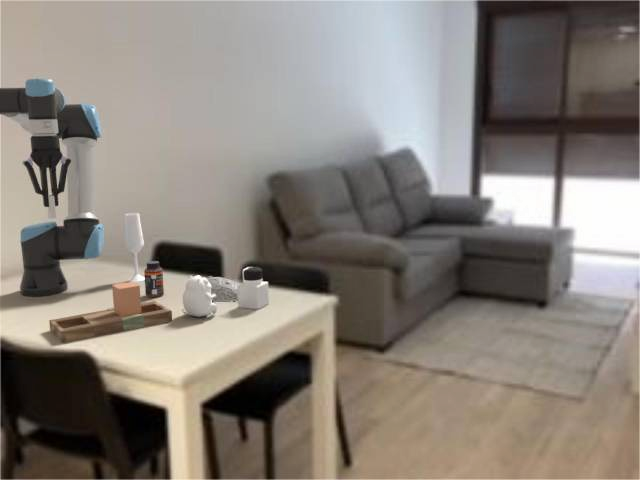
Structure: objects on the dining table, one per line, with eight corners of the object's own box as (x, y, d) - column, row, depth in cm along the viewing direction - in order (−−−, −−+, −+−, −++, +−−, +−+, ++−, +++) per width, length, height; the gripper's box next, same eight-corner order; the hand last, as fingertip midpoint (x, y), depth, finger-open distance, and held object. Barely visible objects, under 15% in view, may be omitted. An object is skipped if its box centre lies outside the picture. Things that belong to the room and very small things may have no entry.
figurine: (187, 322, 199) (185, 282, 197) (178, 313, 208) (175, 275, 205) (220, 317, 204) (218, 277, 201) (209, 309, 212) (207, 271, 210)
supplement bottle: (159, 298, 225) (157, 264, 223) (142, 297, 226) (140, 263, 224) (167, 293, 231) (164, 260, 229) (150, 292, 232) (148, 259, 230)
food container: (219, 305, 215) (219, 284, 214) (180, 294, 234) (180, 274, 233) (260, 301, 225) (261, 280, 224) (220, 290, 244) (220, 271, 243)
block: (114, 311, 201) (112, 284, 199) (134, 307, 204) (132, 281, 202) (121, 316, 196) (119, 289, 194) (141, 312, 199) (139, 285, 198)
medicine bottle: (269, 303, 216) (268, 266, 214) (257, 309, 210) (256, 271, 208) (249, 301, 219) (248, 264, 217) (237, 307, 213) (236, 269, 211)
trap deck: (50, 330, 194) (49, 319, 193) (155, 310, 211) (154, 300, 211) (62, 342, 183) (61, 331, 183) (172, 320, 201) (171, 310, 200)
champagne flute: (143, 281, 247) (139, 215, 243) (125, 281, 247) (120, 215, 243) (148, 277, 254) (144, 212, 249) (130, 277, 254) (125, 212, 249)
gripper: (22, 136, 188) (31, 221, 192) (71, 134, 195) (79, 217, 199) (17, 135, 194) (25, 218, 198) (64, 133, 201) (71, 214, 205)
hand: (52, 217), depth 199 cm, fingers closed
